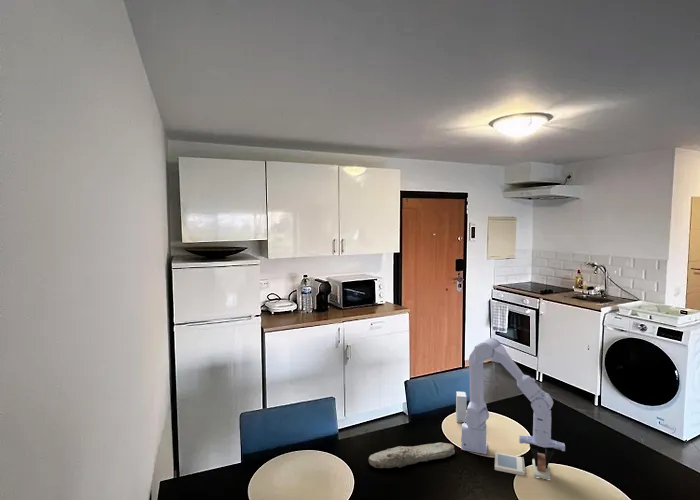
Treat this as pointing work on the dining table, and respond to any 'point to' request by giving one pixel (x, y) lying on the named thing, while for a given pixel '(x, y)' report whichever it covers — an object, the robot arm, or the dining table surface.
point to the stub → (541, 467)
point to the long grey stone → (410, 455)
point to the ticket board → (509, 463)
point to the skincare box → (461, 406)
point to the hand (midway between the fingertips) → (541, 465)
